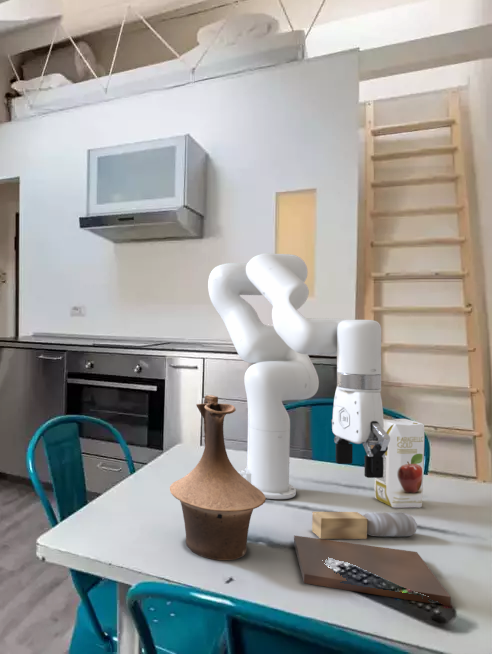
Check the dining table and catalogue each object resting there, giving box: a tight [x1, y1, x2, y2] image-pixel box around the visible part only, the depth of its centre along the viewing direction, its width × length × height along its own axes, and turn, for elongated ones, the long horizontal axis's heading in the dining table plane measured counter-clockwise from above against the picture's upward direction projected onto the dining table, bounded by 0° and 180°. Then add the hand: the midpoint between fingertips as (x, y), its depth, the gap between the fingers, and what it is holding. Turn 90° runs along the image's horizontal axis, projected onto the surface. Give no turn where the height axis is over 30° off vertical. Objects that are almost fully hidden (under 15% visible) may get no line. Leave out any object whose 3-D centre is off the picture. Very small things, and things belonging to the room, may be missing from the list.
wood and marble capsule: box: [311, 511, 418, 540], centre depth 107 cm, size 20×4×4 cm, turn 91°
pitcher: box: [169, 394, 267, 561], centre depth 101 cm, size 18×17×28 cm
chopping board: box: [293, 535, 452, 607], centre depth 92 cm, size 20×16×2 cm
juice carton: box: [373, 418, 425, 509], centre depth 125 cm, size 8×9×19 cm
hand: (358, 470), depth 106 cm, fingers open, 9 cm apart
